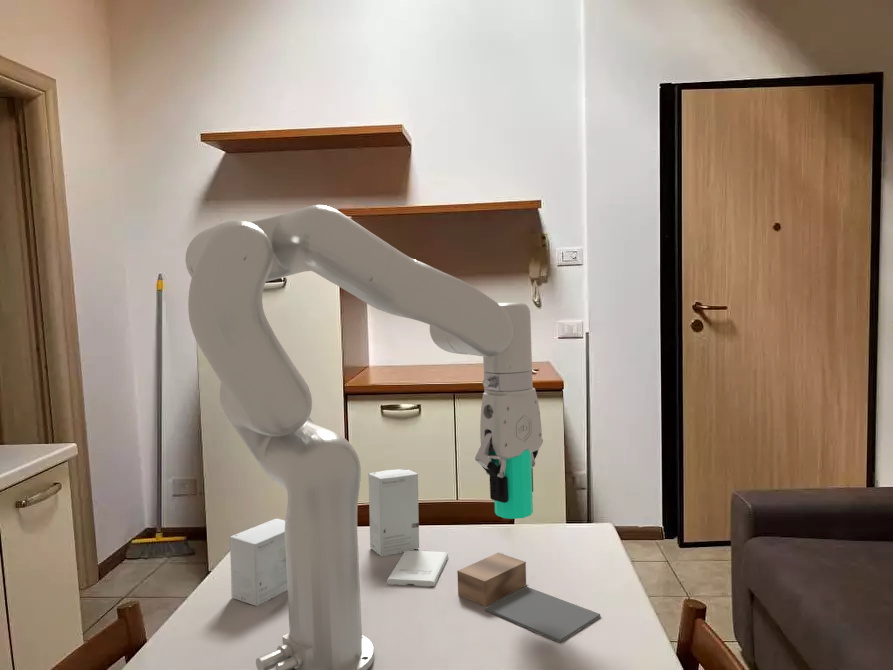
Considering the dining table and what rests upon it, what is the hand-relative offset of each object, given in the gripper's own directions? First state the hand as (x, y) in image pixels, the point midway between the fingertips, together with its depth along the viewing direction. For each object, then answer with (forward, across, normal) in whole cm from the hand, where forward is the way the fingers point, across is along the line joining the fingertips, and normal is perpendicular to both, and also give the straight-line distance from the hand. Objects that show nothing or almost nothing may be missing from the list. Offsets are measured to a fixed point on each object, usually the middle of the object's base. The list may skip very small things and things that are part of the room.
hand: (512, 494), depth 108 cm
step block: (+17, 0, +5) cm, 17 cm away
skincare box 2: (+17, +1, +31) cm, 35 cm away
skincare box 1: (+17, -25, +33) cm, 45 cm away
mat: (+17, -1, -6) cm, 18 cm away
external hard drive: (+18, -3, +20) cm, 26 cm away
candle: (+3, 0, 0) cm, 3 cm away
